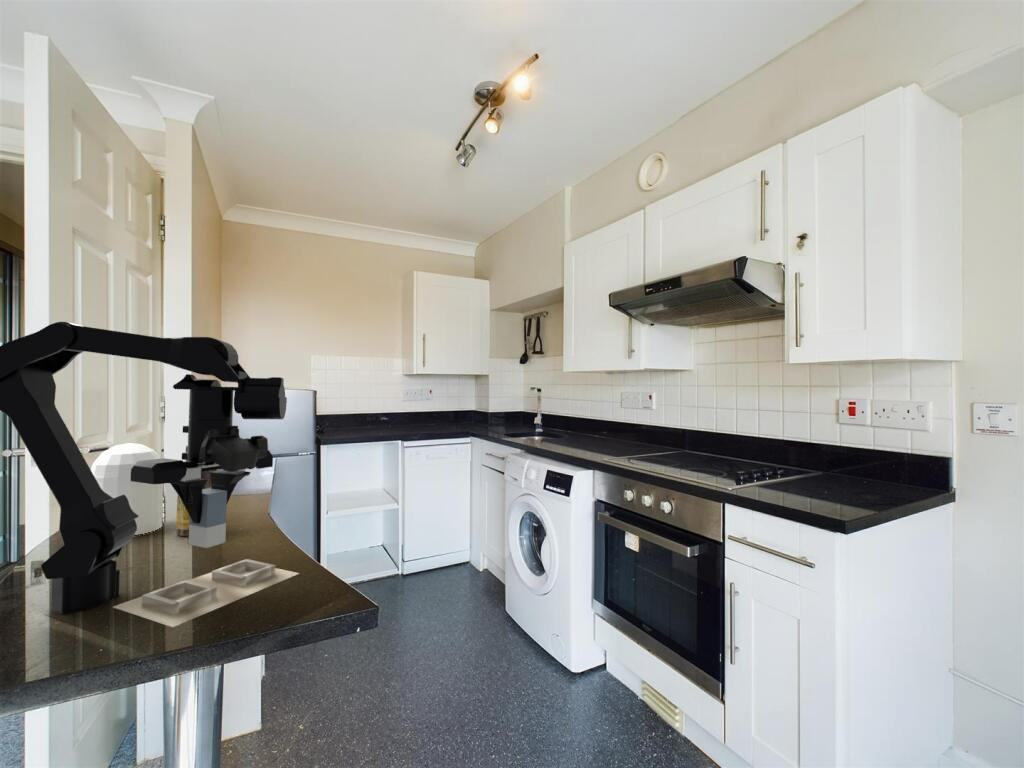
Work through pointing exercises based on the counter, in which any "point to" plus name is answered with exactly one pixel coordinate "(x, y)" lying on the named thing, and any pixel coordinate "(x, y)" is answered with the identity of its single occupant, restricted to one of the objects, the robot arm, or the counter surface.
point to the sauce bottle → (182, 513)
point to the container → (131, 483)
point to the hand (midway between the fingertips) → (207, 520)
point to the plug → (210, 520)
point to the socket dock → (205, 592)
